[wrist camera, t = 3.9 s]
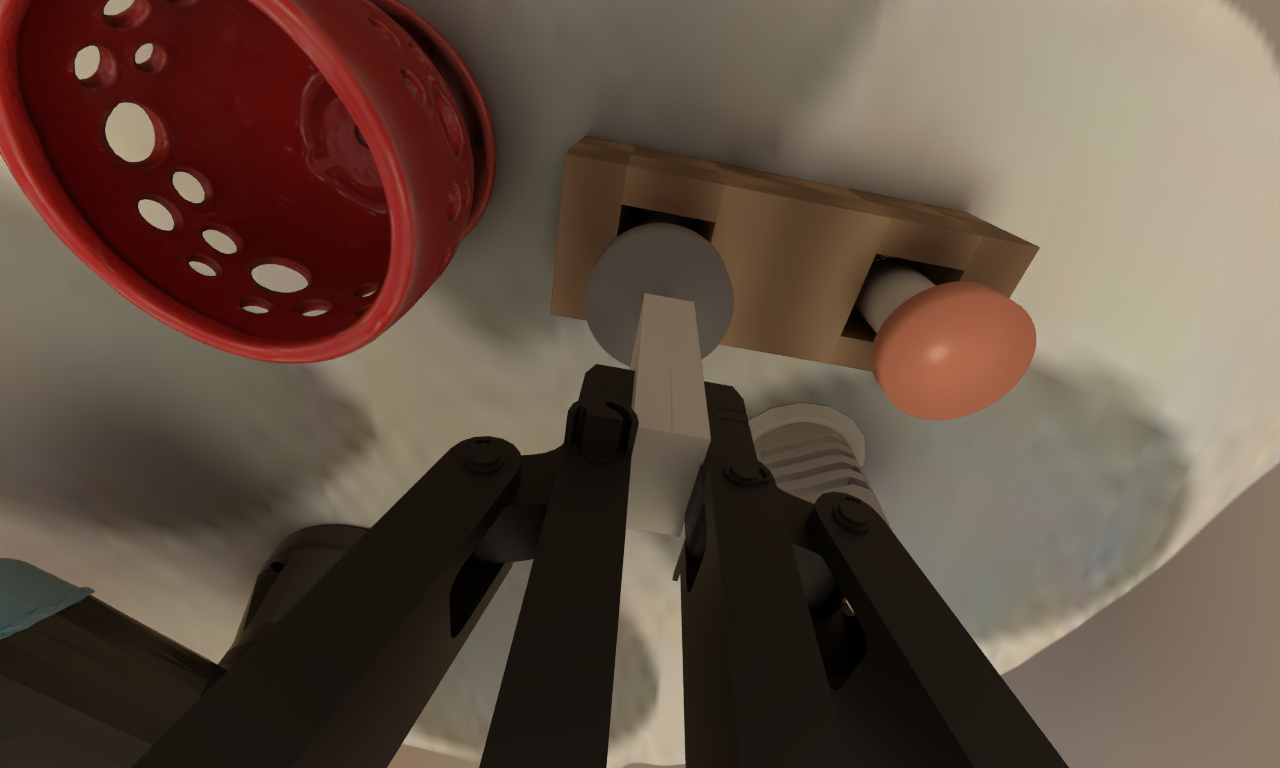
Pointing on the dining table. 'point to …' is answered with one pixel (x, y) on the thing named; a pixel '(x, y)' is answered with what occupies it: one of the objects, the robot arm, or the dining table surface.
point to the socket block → (774, 244)
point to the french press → (813, 452)
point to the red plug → (942, 341)
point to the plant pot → (252, 159)
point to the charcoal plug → (657, 283)
